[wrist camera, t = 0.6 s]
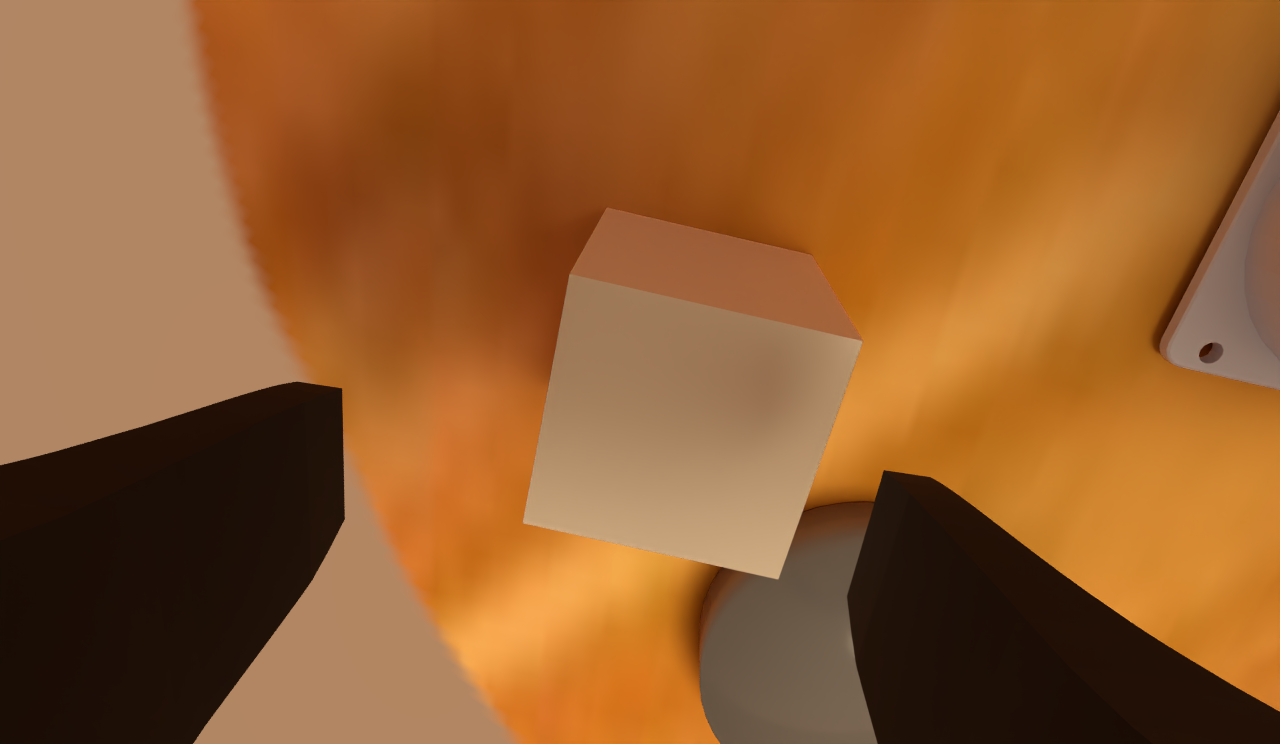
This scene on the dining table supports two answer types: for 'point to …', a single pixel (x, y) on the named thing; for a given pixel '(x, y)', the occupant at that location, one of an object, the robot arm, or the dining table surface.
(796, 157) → the dining table surface
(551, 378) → the cream block
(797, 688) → the slate trivet
